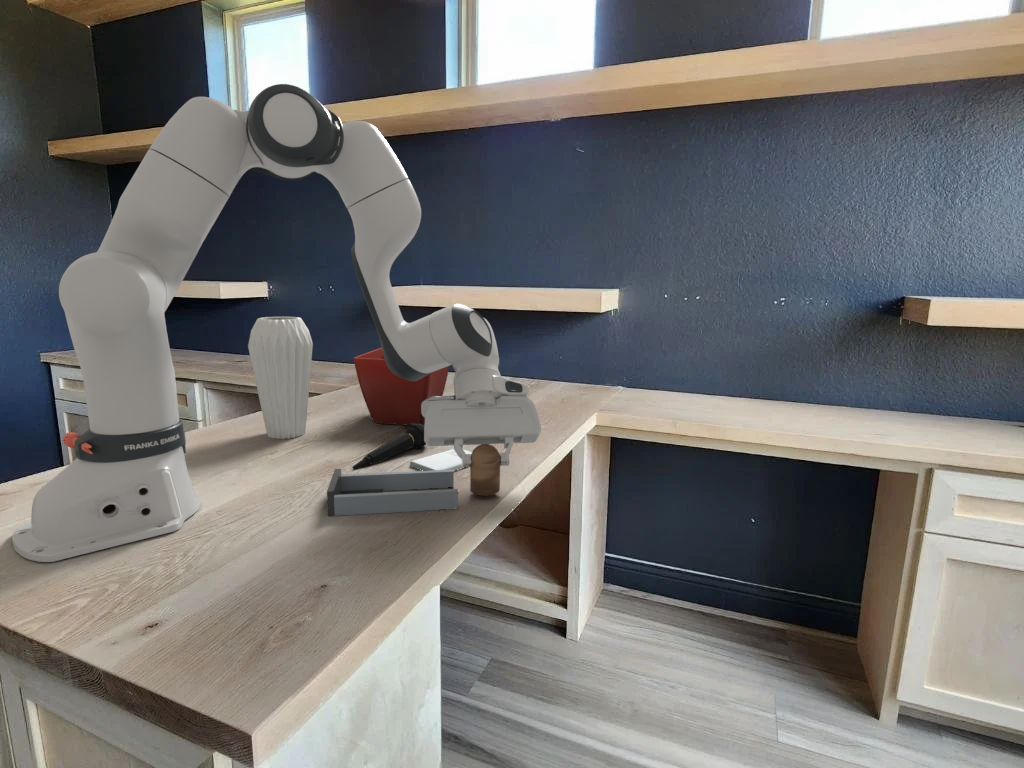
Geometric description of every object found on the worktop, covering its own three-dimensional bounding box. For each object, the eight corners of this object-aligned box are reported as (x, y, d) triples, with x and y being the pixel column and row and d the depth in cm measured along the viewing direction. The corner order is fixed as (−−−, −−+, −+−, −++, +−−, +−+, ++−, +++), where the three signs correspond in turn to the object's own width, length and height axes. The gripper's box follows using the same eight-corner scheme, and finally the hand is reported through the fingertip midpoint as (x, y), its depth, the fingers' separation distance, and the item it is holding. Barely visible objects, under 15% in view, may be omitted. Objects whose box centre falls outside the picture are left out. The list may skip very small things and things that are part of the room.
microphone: (362, 486, 107) (432, 448, 123) (365, 462, 105) (436, 426, 121) (342, 473, 110) (413, 436, 126) (345, 448, 107) (417, 414, 123)
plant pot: (430, 431, 133) (429, 361, 130) (354, 426, 136) (351, 357, 133) (452, 412, 152) (452, 349, 148) (385, 407, 155) (383, 346, 151)
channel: (328, 516, 87) (326, 491, 86) (335, 491, 97) (334, 469, 96) (458, 508, 91) (458, 485, 90) (453, 485, 100) (453, 464, 99)
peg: (486, 497, 93) (487, 451, 91) (464, 490, 96) (464, 445, 94) (505, 489, 97) (506, 444, 95) (483, 481, 100) (483, 438, 98)
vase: (312, 423, 138) (306, 315, 132) (322, 438, 126) (316, 320, 121) (252, 429, 132) (244, 316, 126) (256, 445, 120) (247, 321, 115)
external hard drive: (410, 468, 110) (457, 454, 119) (438, 479, 105) (484, 463, 114) (409, 460, 110) (457, 446, 119) (437, 470, 104) (485, 455, 113)
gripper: (420, 386, 98) (423, 459, 90) (536, 384, 101) (547, 454, 94) (420, 405, 103) (422, 475, 95) (530, 403, 107) (540, 470, 99)
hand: (485, 465), depth 95 cm, fingers closed on peg, 5 cm apart
